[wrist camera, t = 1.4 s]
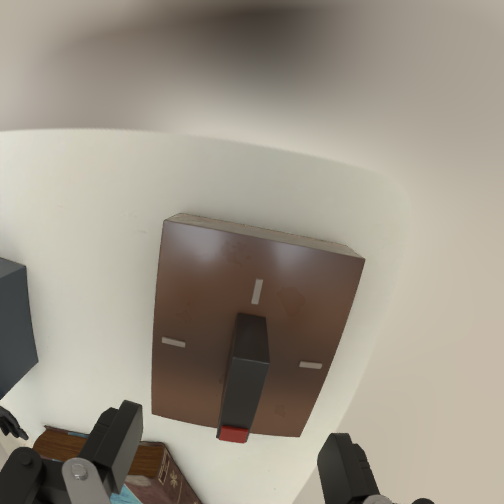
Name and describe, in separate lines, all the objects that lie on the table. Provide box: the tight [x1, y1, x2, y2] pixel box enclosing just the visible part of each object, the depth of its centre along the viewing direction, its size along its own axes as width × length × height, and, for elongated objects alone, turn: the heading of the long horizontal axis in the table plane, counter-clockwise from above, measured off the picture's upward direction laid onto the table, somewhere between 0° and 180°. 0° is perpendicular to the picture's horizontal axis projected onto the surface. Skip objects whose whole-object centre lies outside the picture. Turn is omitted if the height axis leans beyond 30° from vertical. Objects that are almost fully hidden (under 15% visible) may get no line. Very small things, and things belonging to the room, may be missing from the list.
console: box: [151, 213, 365, 437], centre depth 18 cm, size 14×11×4 cm
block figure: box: [0, 406, 28, 440], centre depth 23 cm, size 6×2×6 cm
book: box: [32, 426, 202, 504], centre depth 24 cm, size 23×18×5 cm
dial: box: [216, 313, 270, 443], centre depth 14 cm, size 6×2×5 cm, turn 169°
